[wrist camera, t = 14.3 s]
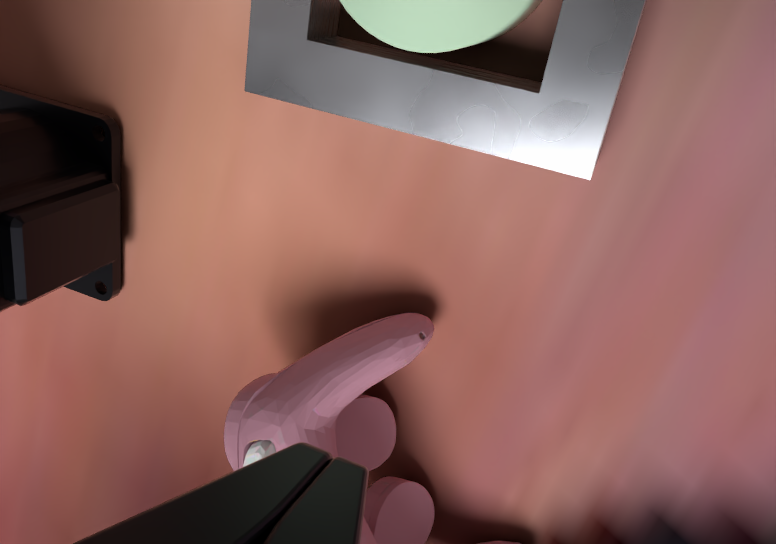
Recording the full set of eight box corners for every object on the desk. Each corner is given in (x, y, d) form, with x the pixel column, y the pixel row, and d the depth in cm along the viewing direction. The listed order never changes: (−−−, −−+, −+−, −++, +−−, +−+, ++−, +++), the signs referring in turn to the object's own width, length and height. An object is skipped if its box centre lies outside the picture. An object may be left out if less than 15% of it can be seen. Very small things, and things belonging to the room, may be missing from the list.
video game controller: (347, 302, 23) (164, 418, 19) (437, 295, 19) (234, 436, 15) (455, 541, 25) (311, 691, 21) (555, 575, 22) (403, 764, 17)
